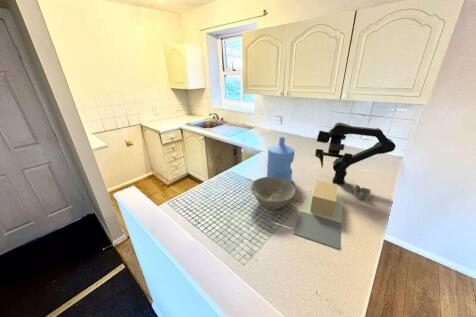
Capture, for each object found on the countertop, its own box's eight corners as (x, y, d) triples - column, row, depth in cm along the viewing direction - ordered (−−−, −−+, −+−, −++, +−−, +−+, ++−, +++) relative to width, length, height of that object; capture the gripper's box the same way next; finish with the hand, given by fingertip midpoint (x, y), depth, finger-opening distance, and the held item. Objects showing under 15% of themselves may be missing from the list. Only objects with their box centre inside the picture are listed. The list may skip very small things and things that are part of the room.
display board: (307, 191, 112) (308, 191, 111) (342, 199, 104) (343, 199, 104) (293, 233, 83) (293, 233, 82) (340, 249, 75) (340, 249, 75)
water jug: (272, 187, 116) (275, 143, 105) (262, 175, 130) (264, 135, 118) (296, 183, 120) (301, 140, 108) (284, 172, 133) (287, 133, 122)
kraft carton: (314, 194, 108) (317, 180, 104) (334, 199, 104) (337, 184, 100) (310, 211, 95) (312, 195, 92) (332, 217, 91) (336, 201, 87)
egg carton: (353, 189, 113) (355, 183, 112) (369, 193, 110) (371, 187, 108) (352, 198, 105) (354, 192, 103) (368, 203, 101) (371, 196, 100)
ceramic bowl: (286, 190, 113) (288, 175, 109) (299, 217, 92) (302, 200, 88) (248, 192, 112) (248, 176, 108) (253, 219, 91) (253, 201, 87)
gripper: (318, 135, 109) (312, 160, 104) (356, 140, 101) (352, 167, 97) (317, 144, 118) (312, 167, 114) (352, 149, 111) (348, 174, 106)
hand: (330, 169), depth 107 cm, fingers open, 8 cm apart
